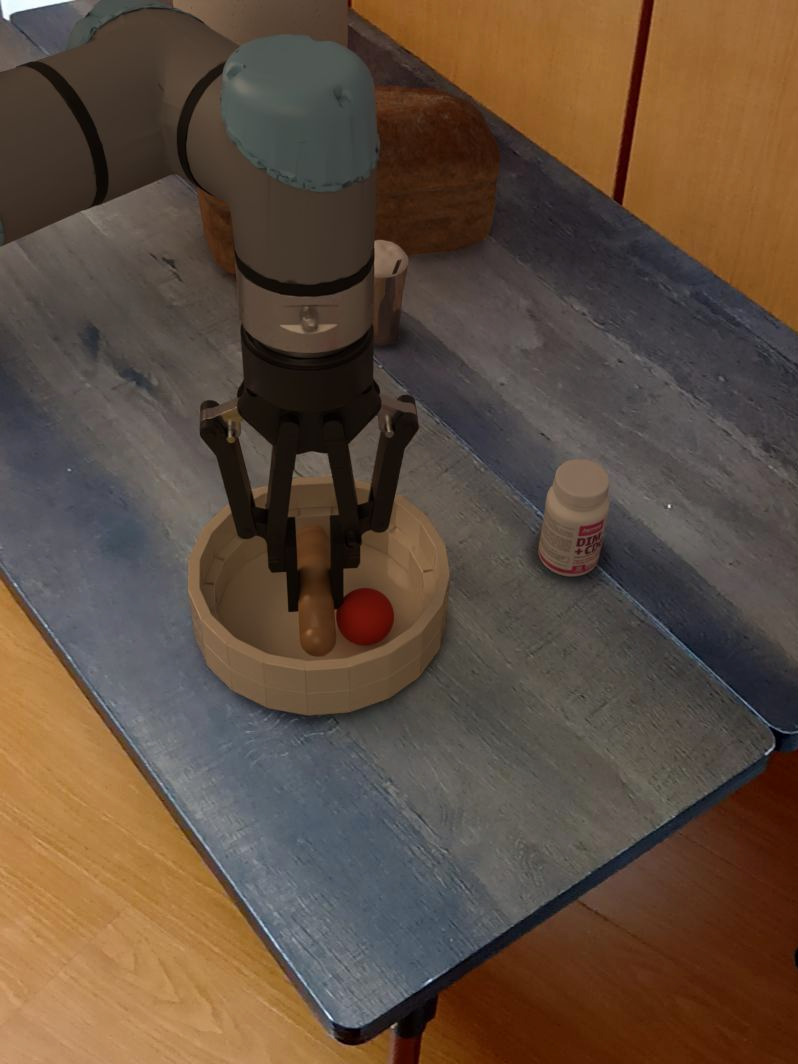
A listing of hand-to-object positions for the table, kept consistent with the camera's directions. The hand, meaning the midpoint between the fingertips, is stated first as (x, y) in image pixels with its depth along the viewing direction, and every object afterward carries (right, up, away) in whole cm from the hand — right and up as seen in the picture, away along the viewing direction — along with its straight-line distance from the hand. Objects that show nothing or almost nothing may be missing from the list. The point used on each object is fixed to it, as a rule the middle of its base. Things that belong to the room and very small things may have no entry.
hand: (315, 595), depth 91 cm
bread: (-3, +33, +35) cm, 48 cm away
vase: (-13, +48, +49) cm, 70 cm away
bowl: (0, -2, +3) cm, 4 cm away
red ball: (+3, -1, 0) cm, 4 cm away
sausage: (0, 0, 0) cm, 0 cm away
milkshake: (+2, +22, +26) cm, 34 cm away
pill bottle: (+18, +3, +10) cm, 21 cm away
